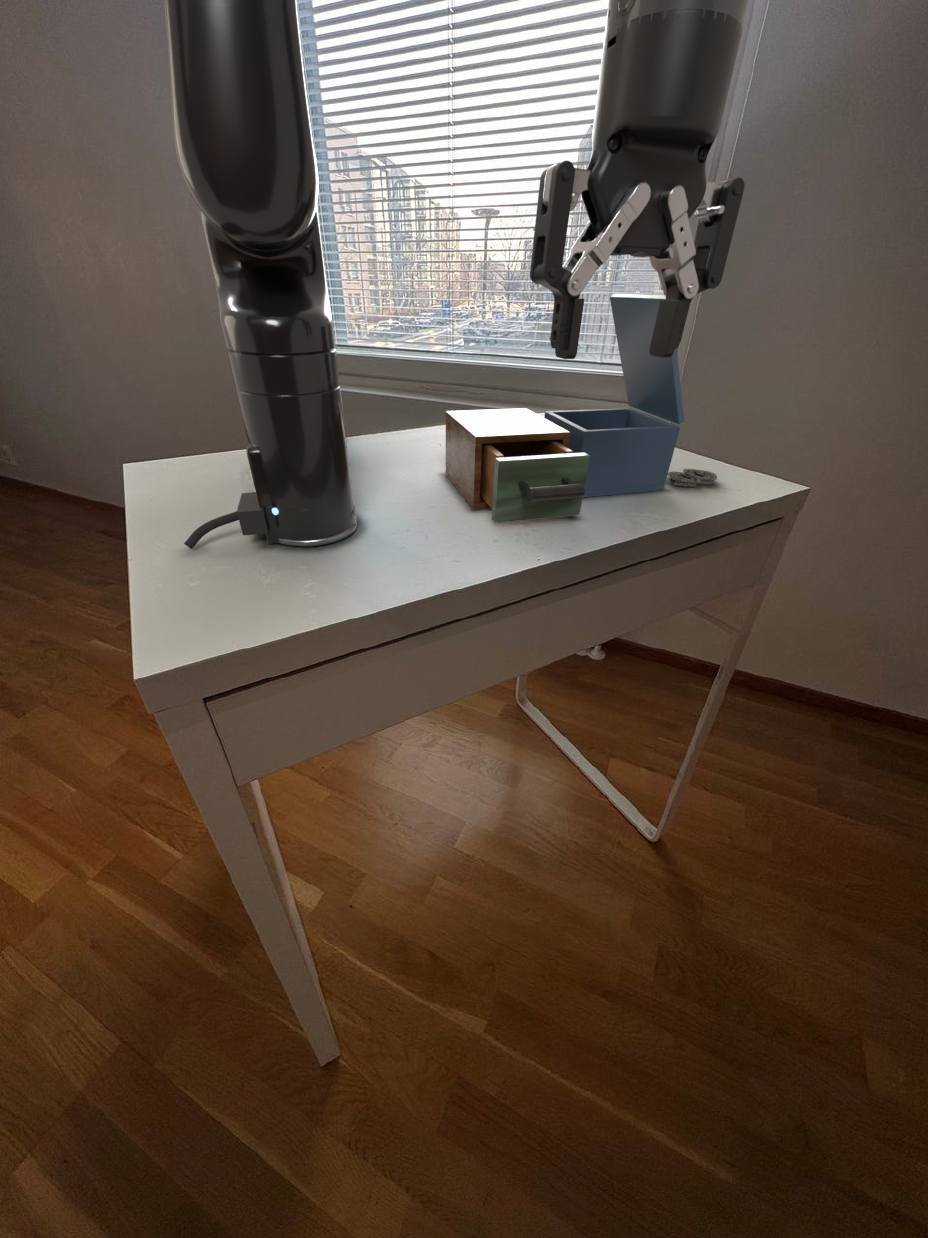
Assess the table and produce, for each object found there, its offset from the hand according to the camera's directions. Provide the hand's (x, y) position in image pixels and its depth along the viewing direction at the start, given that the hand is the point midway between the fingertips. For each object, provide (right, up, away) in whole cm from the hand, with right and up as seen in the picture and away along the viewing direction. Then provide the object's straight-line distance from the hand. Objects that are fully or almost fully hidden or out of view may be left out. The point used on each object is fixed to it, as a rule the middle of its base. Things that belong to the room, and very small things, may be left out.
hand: (613, 356), depth 36 cm
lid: (+11, +13, +24) cm, 29 cm away
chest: (+8, 0, +31) cm, 32 cm away
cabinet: (-7, -2, +28) cm, 29 cm away
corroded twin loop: (+21, -1, +31) cm, 38 cm away
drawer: (-4, -6, +20) cm, 22 cm away
